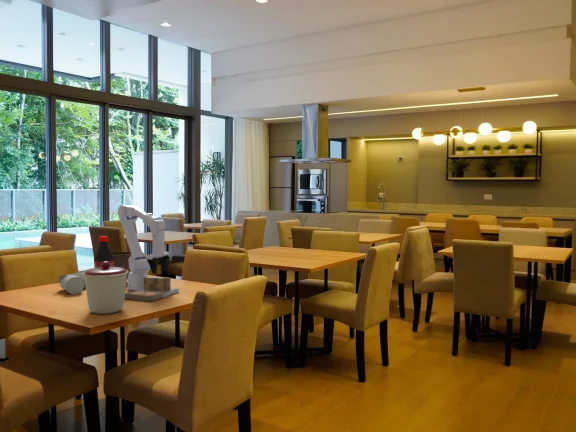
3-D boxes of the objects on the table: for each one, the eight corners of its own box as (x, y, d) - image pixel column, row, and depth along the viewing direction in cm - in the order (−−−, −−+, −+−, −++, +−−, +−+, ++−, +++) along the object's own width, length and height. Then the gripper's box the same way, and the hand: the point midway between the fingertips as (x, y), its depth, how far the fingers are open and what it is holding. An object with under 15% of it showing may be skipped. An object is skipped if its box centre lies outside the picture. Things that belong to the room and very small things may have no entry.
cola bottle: (96, 305, 229) (94, 237, 227) (93, 301, 237) (92, 235, 235) (116, 303, 233) (115, 236, 231) (113, 299, 240) (111, 234, 239)
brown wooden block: (143, 289, 255) (143, 277, 255) (148, 288, 258) (147, 276, 258) (166, 291, 250) (166, 279, 250) (170, 290, 253) (170, 277, 253)
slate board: (135, 295, 250) (135, 291, 250) (153, 290, 263) (153, 286, 263) (162, 297, 245) (162, 293, 245) (178, 292, 258) (178, 288, 258)
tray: (123, 298, 243) (123, 293, 243) (134, 295, 250) (134, 290, 250) (152, 301, 237) (152, 296, 237) (162, 298, 245) (162, 292, 245)
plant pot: (98, 283, 283) (98, 253, 282) (121, 279, 295) (121, 250, 294) (116, 286, 274) (115, 255, 273) (139, 281, 286) (138, 252, 286)
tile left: (128, 297, 244) (128, 293, 244) (136, 294, 250) (136, 290, 250) (139, 298, 242) (139, 294, 242) (147, 295, 248) (147, 291, 248)
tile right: (141, 298, 242) (141, 294, 242) (149, 295, 247) (149, 292, 247) (152, 299, 240) (152, 295, 239) (159, 296, 245) (159, 293, 245)
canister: (135, 312, 216) (134, 262, 215) (89, 319, 206) (88, 265, 205) (121, 304, 231) (120, 257, 230) (78, 310, 220) (77, 260, 219)
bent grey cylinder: (52, 286, 267) (61, 293, 250) (56, 266, 267) (65, 271, 251) (87, 290, 277) (98, 296, 261) (91, 270, 278) (102, 275, 261)
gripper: (156, 246, 246) (156, 275, 246) (174, 243, 259) (174, 270, 260) (144, 245, 248) (144, 274, 249) (162, 242, 262) (162, 269, 262)
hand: (158, 272), depth 255 cm, fingers open, 7 cm apart
